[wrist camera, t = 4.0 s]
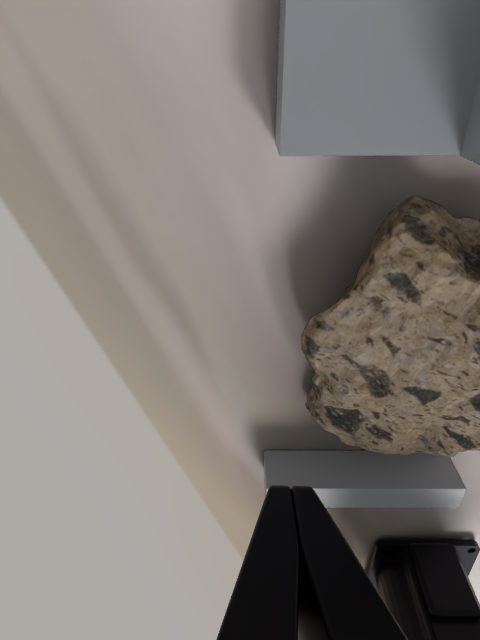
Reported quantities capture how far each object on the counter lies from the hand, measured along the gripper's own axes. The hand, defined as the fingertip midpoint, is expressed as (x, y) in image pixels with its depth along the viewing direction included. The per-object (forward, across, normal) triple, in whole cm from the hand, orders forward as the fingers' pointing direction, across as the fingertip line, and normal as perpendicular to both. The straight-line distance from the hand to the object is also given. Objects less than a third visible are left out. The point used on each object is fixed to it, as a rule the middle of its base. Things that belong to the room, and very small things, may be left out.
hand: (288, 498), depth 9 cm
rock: (+12, -7, +3) cm, 15 cm away
